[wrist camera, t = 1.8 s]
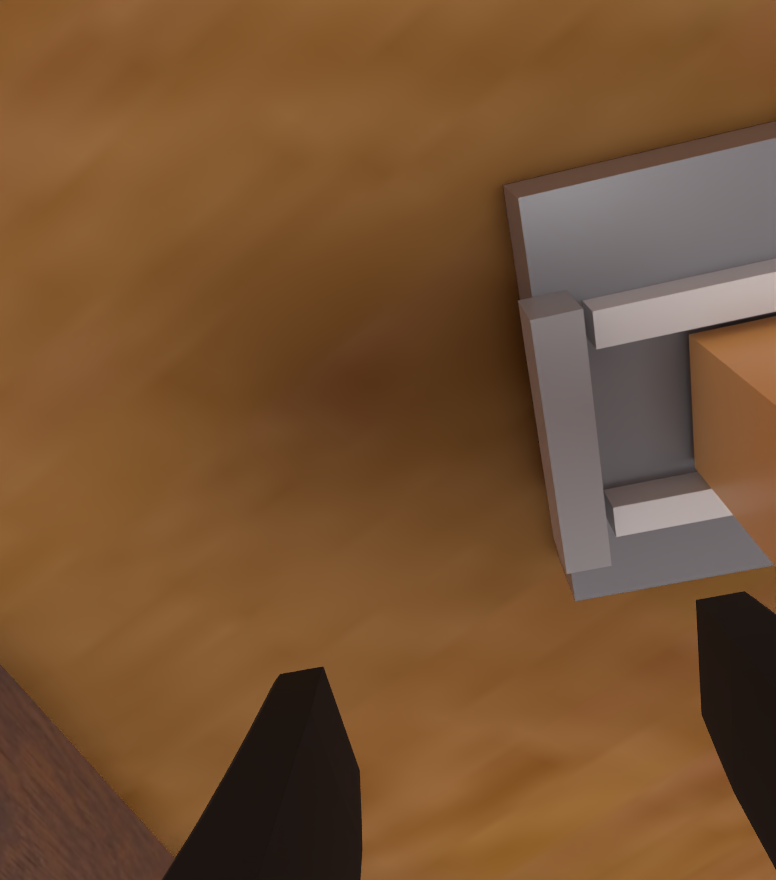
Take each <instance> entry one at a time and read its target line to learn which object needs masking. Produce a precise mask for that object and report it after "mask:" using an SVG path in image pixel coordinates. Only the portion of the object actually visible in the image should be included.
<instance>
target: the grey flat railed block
mask: <svg viewBox="0 0 776 880" xmlns="http://www.w3.org/2000/svg"><path fill="white" fill-rule="evenodd" d="M503 190H504V196H505V203H506V210H507V216H508V223H509V230H510V237H511V243H512V250H513V257H514V263H515V270H516V277H517V283H518V290H519V297H520V300H518V306H519V312H520V319H521V326H522V332H523V339H524V346H525V352H526V359H527V366H528V372H529V379H530V386H531V392H532V399H533V405H534V412H535V419H536V425H537V432H538V439H539V445H540V452H541V459H542V465H543V472H544V479H545V485H546V492H547V498H548V505H549V512H550V518H551V525H552V532H553V538H554V541H555V544H556V547H557V552H558V557H559V559H560V562H561V565H562V567H563V570H564V573H565V575H566V578H567V581H568V583H569V586H570V589H571V592H572V594H573V597H574V600H575V601H580V600H586V599H591V598H597V597H602V596H608V595H613V594H619V593H624V592H630V591H635V590H641V589H646V588H652V587H657V586H663V585H668V584H674V583H680V582H685V581H691V580H696V579H702V578H707V577H713V576H718V575H724V574H729V573H735V572H740V571H746V570H751V569H757V568H762V567H768V566H774V564H773V563H772V562H771V561H770V560H769V558H768V557H767V556H766V555H765V553H764V552H763V551H762V550H761V548H760V547H759V546H758V545H757V544H756V542H755V541H754V540H753V539H752V537H751V536H750V535H749V534H748V533H747V531H746V530H745V529H744V528H743V526H742V525H741V524H740V523H739V521H738V520H737V519H736V518H735V517H734V515H733V514H732V513H731V512H730V510H729V509H728V508H727V507H726V506H725V504H724V503H723V502H722V501H721V499H720V498H719V497H718V496H717V494H716V493H715V492H714V491H713V490H712V488H711V487H710V486H709V485H708V483H707V482H706V481H705V480H704V479H703V477H702V476H701V475H700V474H699V472H698V471H697V470H696V469H695V460H694V438H693V416H692V395H691V373H690V351H689V334H693V333H698V332H703V331H708V330H712V329H717V328H722V327H726V326H731V325H736V324H741V323H745V322H750V321H755V320H760V319H764V318H769V317H774V316H776V121H773V122H769V123H765V124H761V125H756V126H752V127H748V128H744V129H739V130H735V131H731V132H727V133H722V134H718V135H714V136H710V137H706V138H701V139H697V140H693V141H689V142H684V143H680V144H676V145H672V146H667V147H663V148H659V149H655V150H650V151H646V152H642V153H638V154H633V155H629V156H625V157H621V158H616V159H612V160H608V161H604V162H599V163H595V164H591V165H587V166H582V167H578V168H574V169H570V170H565V171H561V172H557V173H553V174H548V175H544V176H540V177H536V178H532V179H527V180H523V181H519V182H515V183H510V184H506V185H503Z"/></svg>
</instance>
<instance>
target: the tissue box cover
mask: <svg viewBox="0 0 776 880" xmlns="http://www.w3.org/2000/svg"><path fill="white" fill-rule="evenodd" d="M174 859H175V858H174V857H173V856H172V855H171V854H170V853H169V851H168V850H167V849H166V848H165V847H164V846H163V845H162V844H161V843H160V841H159V840H158V839H157V838H156V837H155V836H154V835H153V834H152V833H151V831H150V830H149V829H148V828H147V827H146V826H145V825H144V824H143V823H142V821H141V820H140V819H139V818H138V817H137V816H136V815H135V814H134V813H133V811H132V810H131V809H130V808H129V807H128V806H127V805H126V804H125V803H124V801H123V800H122V799H121V798H120V797H119V796H118V795H117V794H116V793H115V791H114V790H113V789H112V788H111V787H110V786H109V785H108V784H107V783H106V781H105V780H104V779H103V778H102V777H101V776H100V775H99V774H98V773H97V771H96V770H95V769H94V768H93V767H92V766H91V765H90V764H89V763H88V761H87V760H86V759H85V758H84V757H83V756H82V755H81V754H80V753H79V751H78V750H77V749H76V748H75V747H74V746H73V745H72V744H71V743H70V741H69V740H68V739H67V738H66V737H65V736H64V735H63V734H62V733H61V731H60V730H59V729H58V728H57V727H56V726H55V725H54V724H53V723H52V721H51V720H50V719H49V718H48V717H47V716H46V715H45V714H44V713H43V711H42V710H41V709H40V708H39V707H38V706H37V705H36V704H35V703H34V701H33V700H32V699H31V698H30V697H29V696H28V695H27V694H26V692H25V691H24V690H23V689H22V688H21V687H20V686H19V685H18V684H17V682H16V681H15V680H14V679H13V678H12V677H11V676H10V675H9V674H8V672H7V671H6V670H5V669H4V668H3V667H2V666H1V665H0V880H162V878H163V877H164V875H165V874H166V872H167V870H168V869H169V867H170V866H171V864H172V862H173V861H174Z"/></svg>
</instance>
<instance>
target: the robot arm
mask: <svg viewBox="0 0 776 880" xmlns="http://www.w3.org/2000/svg"><path fill="white" fill-rule="evenodd" d="M696 611H697V631H698V651H699V672H700V692H701V712H702V717H703V719H704V722H705V724H706V726H707V729H708V731H709V734H710V736H711V739H712V741H713V744H714V746H715V749H716V751H717V754H718V756H719V758H720V761H721V763H722V765H723V768H724V770H725V772H726V775H727V777H728V779H729V782H730V784H731V787H732V789H733V791H734V793H735V795H736V797H737V799H738V801H739V803H740V804H741V806H742V808H743V810H744V812H745V814H746V816H747V817H748V819H749V821H750V823H751V825H752V827H753V828H754V830H755V832H756V834H757V836H758V838H759V839H760V841H761V843H762V845H763V847H764V849H765V851H766V852H767V854H768V856H769V858H770V860H771V861H772V863H773V865H774V867H775V869H776V614H775V613H773V612H772V611H771V610H769V609H768V608H767V607H765V606H764V605H763V604H761V603H760V602H759V601H757V600H756V599H755V598H753V597H752V596H750V595H749V594H748V593H746V592H745V591H744V592H739V593H733V594H728V595H722V596H716V597H711V598H705V599H699V600H696ZM361 861H362V818H361V792H360V770H359V767H358V765H357V762H356V759H355V756H354V753H353V750H352V747H351V744H350V742H349V739H348V736H347V733H346V730H345V727H344V724H343V722H342V719H341V716H340V713H339V710H338V707H337V704H336V702H335V699H334V696H333V693H332V690H331V687H330V684H329V682H328V679H327V676H326V673H325V670H324V667H318V668H313V669H307V670H301V671H296V672H290V673H284V674H280V675H279V676H278V678H277V679H276V680H275V682H274V684H273V686H272V687H271V689H270V691H269V693H268V695H267V697H266V699H265V701H264V703H263V705H262V707H261V709H260V711H259V712H258V714H257V716H256V718H255V720H254V722H253V724H252V726H251V728H250V730H249V731H248V733H247V735H246V737H245V739H244V741H243V743H242V745H241V746H240V748H239V750H238V752H237V754H236V756H235V757H234V759H233V761H232V763H231V765H230V767H229V768H228V770H227V772H226V774H225V775H224V777H223V779H222V781H221V782H220V784H219V786H218V788H217V789H216V791H215V793H214V795H213V796H212V798H211V800H210V802H209V803H208V805H207V807H206V808H205V810H204V812H203V814H202V815H201V817H200V819H199V821H198V822H197V824H196V826H195V827H194V829H193V831H192V832H191V834H190V836H189V837H188V839H187V840H186V842H185V844H184V845H183V847H182V848H181V850H180V851H179V853H178V855H177V856H176V858H175V859H174V861H173V862H172V864H171V866H170V867H169V869H168V870H167V872H166V874H165V875H164V877H163V878H162V880H360V877H361Z"/></svg>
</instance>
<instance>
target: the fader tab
mask: <svg viewBox="0 0 776 880" xmlns="http://www.w3.org/2000/svg"><path fill="white" fill-rule="evenodd" d="M689 351H690V373H691V395H692V416H693V438H694V460H695V469H696V470H697V471H698V472H699V474H700V475H701V476H702V477H703V479H704V480H705V481H706V482H707V483H708V485H709V486H710V487H711V488H712V490H713V491H714V492H715V493H716V494H717V496H718V497H719V498H720V499H721V501H722V502H723V503H724V504H725V506H726V507H727V508H728V509H729V510H730V512H731V513H732V514H733V515H734V517H735V518H736V519H737V520H738V521H739V523H740V524H741V525H742V526H743V528H744V529H745V530H746V531H747V533H748V534H749V535H750V536H751V537H752V539H753V540H754V541H755V542H756V544H757V545H758V546H759V547H760V548H761V550H762V551H763V552H764V553H765V555H766V556H767V557H768V558H769V560H770V561H771V562H772V563H773V564H774V566H775V567H776V316H774V317H769V318H764V319H760V320H755V321H750V322H745V323H741V324H736V325H731V326H726V327H722V328H717V329H712V330H708V331H703V332H698V333H693V334H689Z"/></svg>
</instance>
